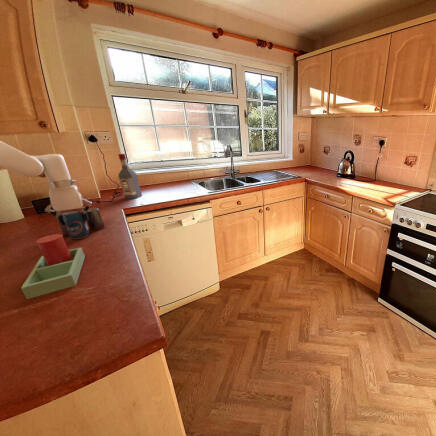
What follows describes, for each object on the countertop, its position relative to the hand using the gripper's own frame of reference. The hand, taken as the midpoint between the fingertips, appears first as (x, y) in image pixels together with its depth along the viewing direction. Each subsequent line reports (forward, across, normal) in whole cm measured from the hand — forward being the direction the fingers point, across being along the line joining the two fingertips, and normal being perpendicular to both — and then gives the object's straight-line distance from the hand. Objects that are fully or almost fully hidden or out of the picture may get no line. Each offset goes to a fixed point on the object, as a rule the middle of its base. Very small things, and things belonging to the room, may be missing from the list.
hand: (75, 222), depth 110 cm
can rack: (+8, +1, +36) cm, 37 cm away
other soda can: (+7, +1, +30) cm, 31 cm away
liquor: (+7, -23, -63) cm, 67 cm away
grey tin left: (+8, +4, -9) cm, 12 cm away
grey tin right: (+8, -6, -9) cm, 13 cm away
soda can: (+7, 0, 0) cm, 7 cm away
